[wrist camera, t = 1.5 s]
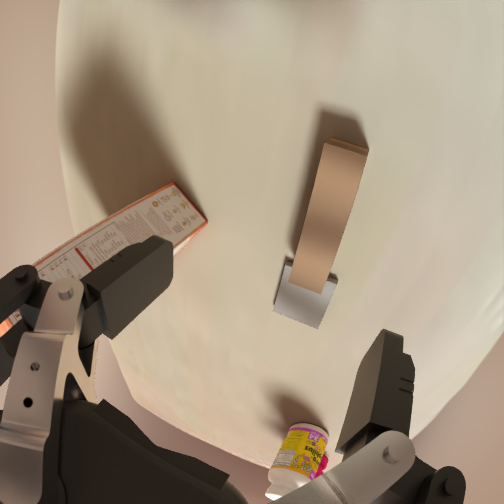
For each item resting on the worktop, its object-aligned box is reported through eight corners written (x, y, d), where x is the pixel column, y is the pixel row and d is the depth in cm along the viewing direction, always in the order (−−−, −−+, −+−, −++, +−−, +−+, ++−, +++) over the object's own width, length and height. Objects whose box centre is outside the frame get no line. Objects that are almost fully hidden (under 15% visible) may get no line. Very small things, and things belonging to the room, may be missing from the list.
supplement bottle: (336, 440, 40) (310, 509, 30) (302, 441, 44) (274, 503, 34) (318, 420, 39) (287, 494, 29) (282, 422, 43) (249, 488, 33)
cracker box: (153, 281, 38) (36, 388, 22) (124, 246, 38) (-1, 341, 21) (213, 224, 30) (40, 372, 13) (174, 178, 29) (-16, 292, 13)
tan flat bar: (319, 133, 22) (310, 138, 19) (381, 153, 20) (381, 161, 18) (275, 306, 32) (264, 324, 29) (319, 324, 30) (311, 343, 28)
